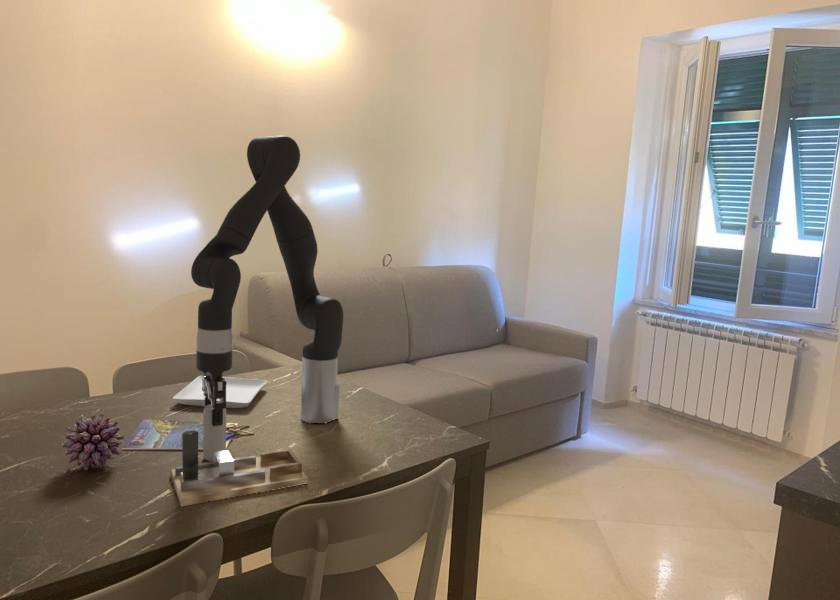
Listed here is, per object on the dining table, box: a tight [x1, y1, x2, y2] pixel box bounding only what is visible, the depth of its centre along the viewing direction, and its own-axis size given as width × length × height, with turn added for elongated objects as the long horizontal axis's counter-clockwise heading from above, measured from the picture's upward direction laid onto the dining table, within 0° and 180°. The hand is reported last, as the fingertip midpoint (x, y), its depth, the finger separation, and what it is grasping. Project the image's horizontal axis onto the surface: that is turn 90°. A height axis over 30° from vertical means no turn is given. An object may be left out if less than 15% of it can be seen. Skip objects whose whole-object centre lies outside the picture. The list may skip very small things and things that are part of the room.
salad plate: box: [172, 375, 268, 409], centre depth 183 cm, size 21×21×3 cm
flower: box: [60, 412, 125, 471], centre depth 134 cm, size 12×12×12 cm
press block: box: [181, 430, 234, 482], centre depth 129 cm, size 10×6×10 cm, turn 118°
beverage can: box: [202, 404, 227, 462], centre depth 142 cm, size 5×5×12 cm
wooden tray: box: [170, 448, 309, 507], centre depth 133 cm, size 25×14×4 cm, turn 118°
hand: (213, 418), depth 142 cm, fingers open, 8 cm apart
